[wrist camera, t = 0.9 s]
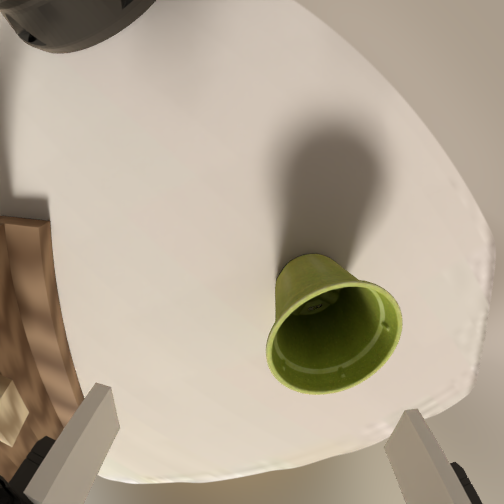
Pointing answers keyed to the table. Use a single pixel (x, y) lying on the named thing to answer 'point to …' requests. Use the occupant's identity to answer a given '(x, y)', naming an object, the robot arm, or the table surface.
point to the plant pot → (329, 327)
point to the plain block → (10, 411)
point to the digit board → (33, 337)
